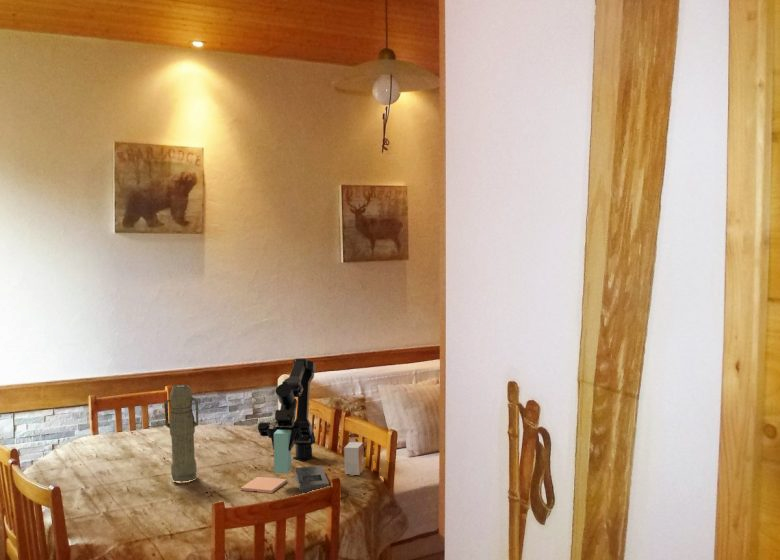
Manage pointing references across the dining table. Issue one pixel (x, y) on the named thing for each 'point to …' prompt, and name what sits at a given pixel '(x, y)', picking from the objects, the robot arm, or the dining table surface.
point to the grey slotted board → (310, 478)
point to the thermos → (182, 432)
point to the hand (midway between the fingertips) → (281, 450)
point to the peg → (282, 451)
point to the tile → (264, 484)
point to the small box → (354, 458)
